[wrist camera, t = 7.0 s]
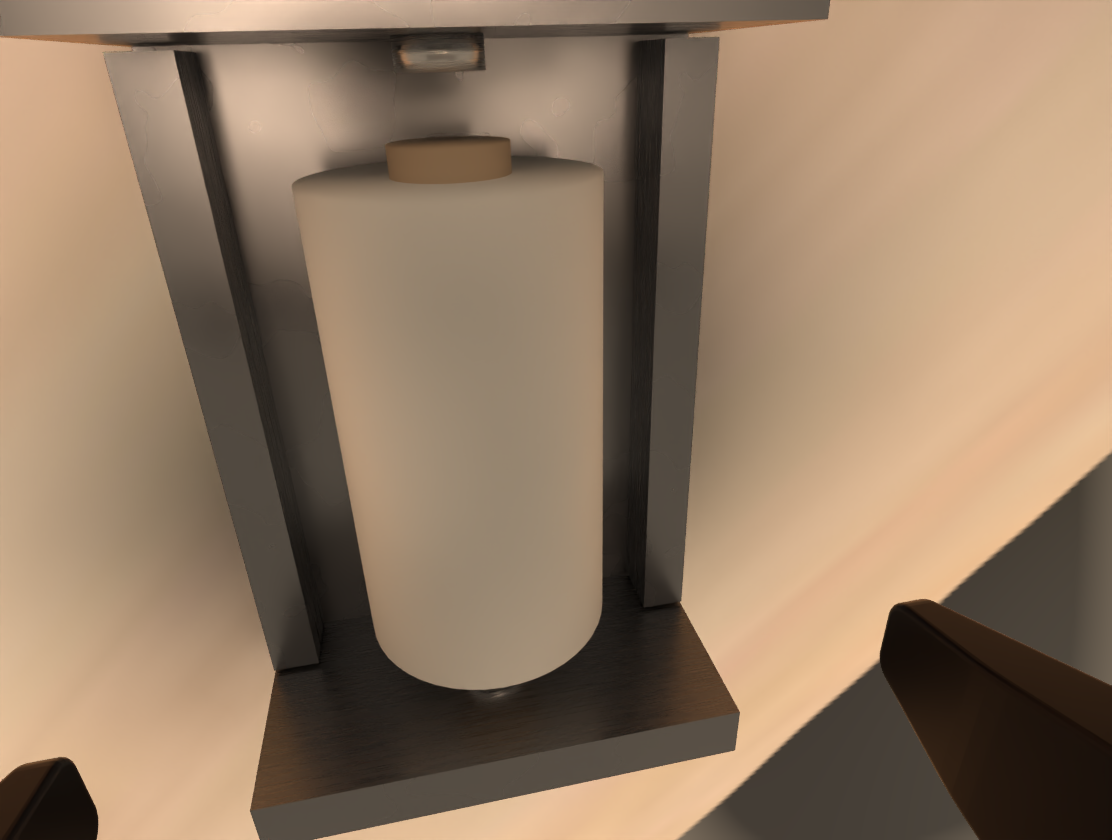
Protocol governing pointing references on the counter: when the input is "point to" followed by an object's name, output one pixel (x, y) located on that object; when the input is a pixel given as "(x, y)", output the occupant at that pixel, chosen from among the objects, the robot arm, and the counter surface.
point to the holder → (301, 381)
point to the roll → (467, 397)
